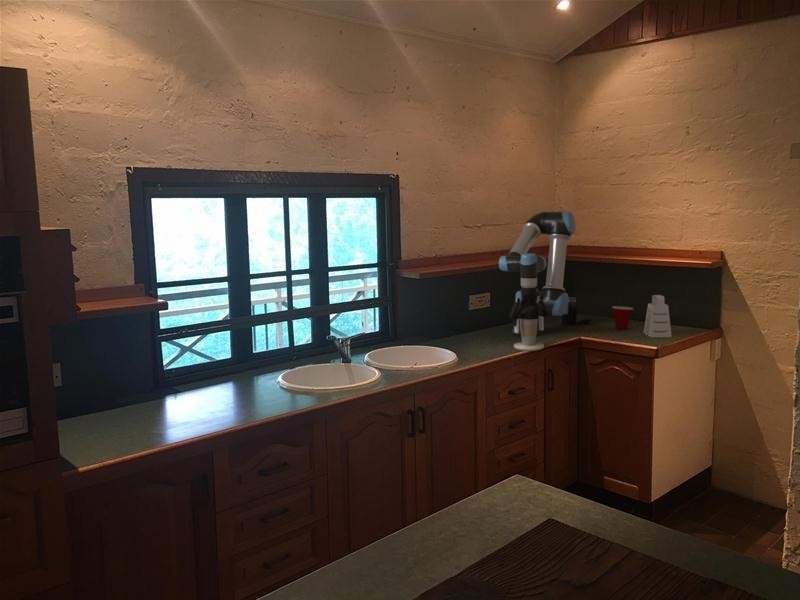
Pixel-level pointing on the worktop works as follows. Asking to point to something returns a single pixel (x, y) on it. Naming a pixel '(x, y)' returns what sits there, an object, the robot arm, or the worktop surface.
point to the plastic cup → (622, 316)
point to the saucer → (536, 347)
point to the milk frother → (571, 314)
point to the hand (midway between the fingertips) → (528, 331)
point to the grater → (657, 318)
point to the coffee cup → (528, 328)
